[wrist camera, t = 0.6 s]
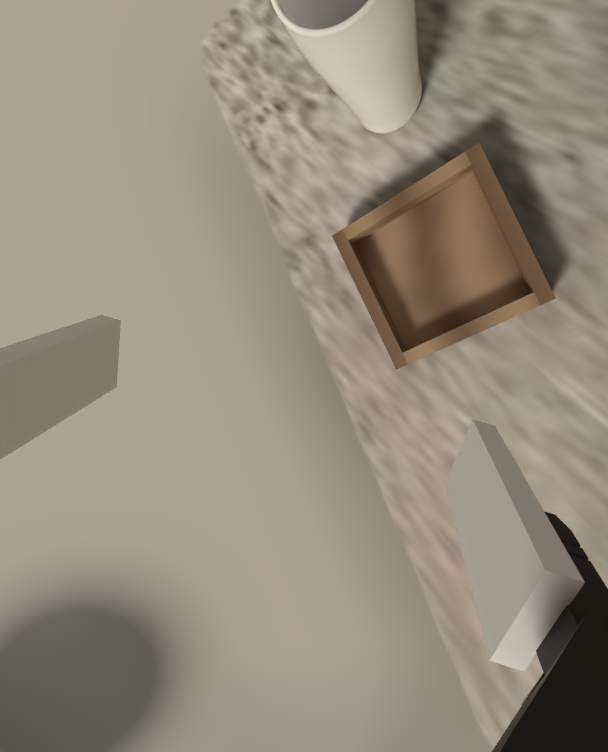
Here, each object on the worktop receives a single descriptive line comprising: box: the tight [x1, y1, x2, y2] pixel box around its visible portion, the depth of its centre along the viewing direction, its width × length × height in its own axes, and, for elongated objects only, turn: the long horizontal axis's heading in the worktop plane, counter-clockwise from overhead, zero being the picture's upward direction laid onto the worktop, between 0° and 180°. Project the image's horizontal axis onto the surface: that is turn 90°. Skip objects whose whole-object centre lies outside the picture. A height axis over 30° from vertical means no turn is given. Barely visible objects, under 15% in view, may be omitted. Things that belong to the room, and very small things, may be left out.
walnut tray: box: [332, 143, 555, 369], centre depth 32 cm, size 12×12×3 cm
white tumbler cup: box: [271, 0, 422, 133], centre depth 26 cm, size 7×7×15 cm
